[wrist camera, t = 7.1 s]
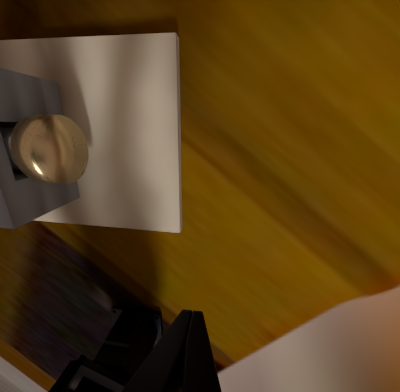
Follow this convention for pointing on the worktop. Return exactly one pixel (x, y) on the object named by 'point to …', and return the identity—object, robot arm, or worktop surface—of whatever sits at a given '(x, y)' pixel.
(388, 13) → the worktop surface
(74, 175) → the shaft
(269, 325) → the worktop surface
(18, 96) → the bearing block
